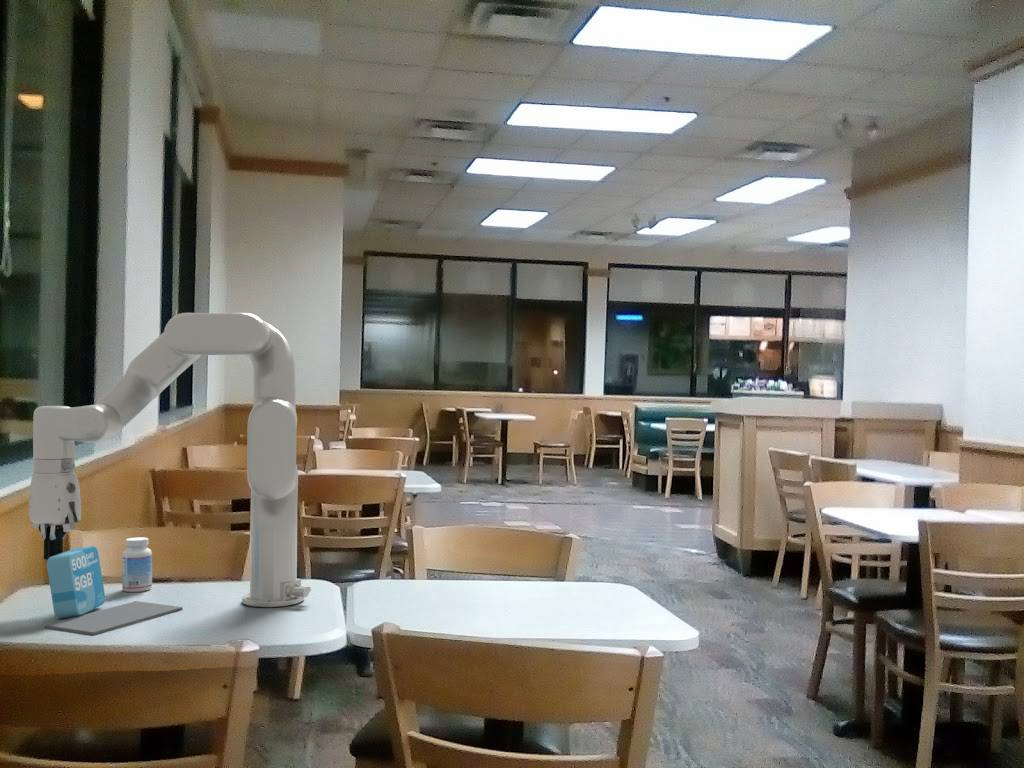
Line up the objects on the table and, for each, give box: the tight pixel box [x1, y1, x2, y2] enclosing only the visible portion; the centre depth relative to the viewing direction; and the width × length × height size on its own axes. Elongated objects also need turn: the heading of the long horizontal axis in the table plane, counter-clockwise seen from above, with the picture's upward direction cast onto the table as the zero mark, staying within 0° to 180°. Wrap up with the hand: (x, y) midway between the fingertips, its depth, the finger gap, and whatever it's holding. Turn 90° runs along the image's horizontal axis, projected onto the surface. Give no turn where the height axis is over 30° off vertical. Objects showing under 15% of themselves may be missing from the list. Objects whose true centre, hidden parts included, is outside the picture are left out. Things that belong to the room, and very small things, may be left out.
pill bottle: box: [121, 536, 153, 593], centre depth 213 cm, size 6×6×11 cm
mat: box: [44, 600, 183, 636], centre depth 187 cm, size 12×22×1 cm, turn 155°
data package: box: [46, 545, 106, 619], centre depth 191 cm, size 12×4×12 cm, turn 178°
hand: (53, 558), depth 194 cm, fingers closed
